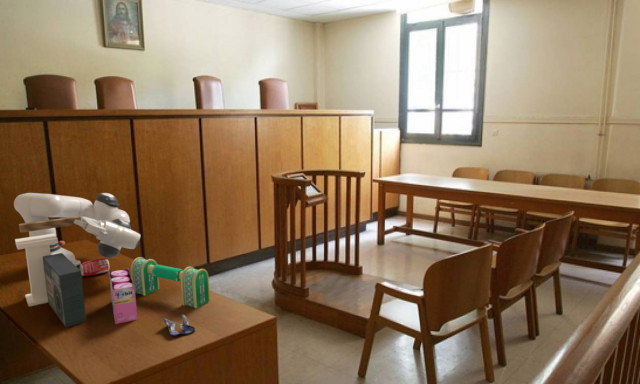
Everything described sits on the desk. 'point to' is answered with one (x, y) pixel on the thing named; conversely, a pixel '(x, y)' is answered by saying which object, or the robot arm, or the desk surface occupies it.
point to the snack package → (183, 326)
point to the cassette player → (64, 289)
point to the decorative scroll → (191, 279)
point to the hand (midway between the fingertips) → (72, 219)
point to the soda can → (94, 267)
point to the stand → (36, 265)
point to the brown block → (48, 224)
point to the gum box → (122, 296)
